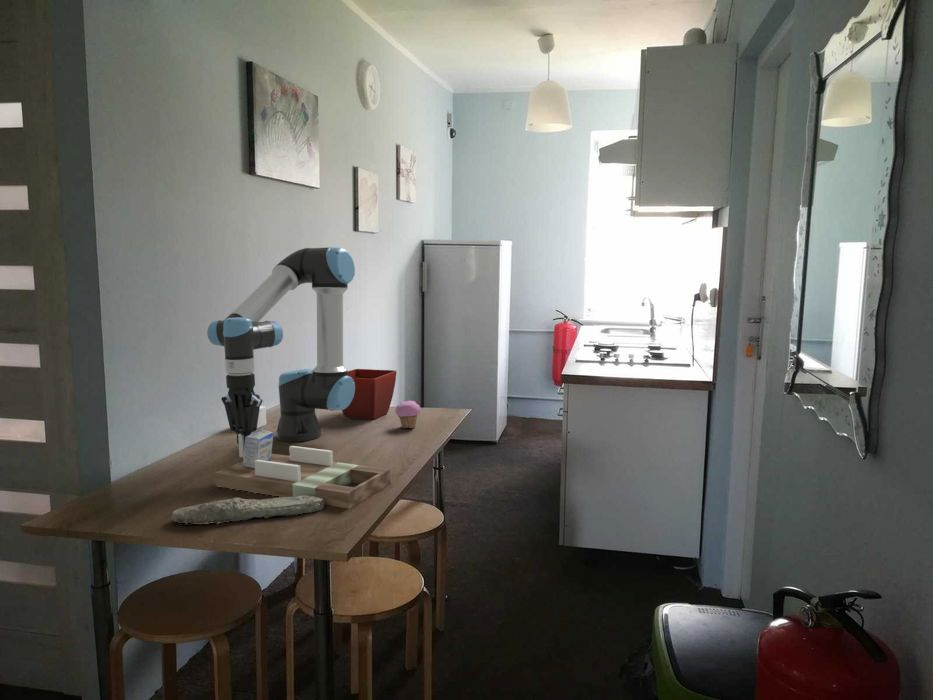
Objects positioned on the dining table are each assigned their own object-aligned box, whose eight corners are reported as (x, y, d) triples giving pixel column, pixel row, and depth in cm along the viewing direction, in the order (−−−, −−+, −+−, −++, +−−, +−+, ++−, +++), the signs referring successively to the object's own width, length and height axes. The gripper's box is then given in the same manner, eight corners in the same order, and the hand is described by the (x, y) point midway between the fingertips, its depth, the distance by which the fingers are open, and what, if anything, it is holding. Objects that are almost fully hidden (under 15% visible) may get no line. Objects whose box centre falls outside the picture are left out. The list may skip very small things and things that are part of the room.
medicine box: (256, 469, 182) (260, 439, 180) (241, 466, 183) (245, 436, 181) (270, 461, 189) (274, 432, 188) (256, 457, 190) (259, 428, 189)
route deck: (265, 465, 198) (265, 452, 198) (390, 483, 181) (390, 469, 180) (215, 486, 180) (214, 472, 180) (349, 508, 163) (348, 493, 162)
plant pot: (331, 419, 256) (329, 376, 253) (357, 408, 273) (355, 368, 271) (375, 423, 249) (373, 378, 246) (399, 412, 266) (397, 370, 264)
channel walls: (292, 459, 191) (291, 445, 190) (333, 464, 185) (332, 450, 185) (255, 475, 177) (254, 460, 176) (298, 481, 171) (297, 466, 171)
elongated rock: (325, 521, 160) (323, 508, 169) (325, 499, 159) (324, 488, 169) (167, 530, 151) (175, 516, 160) (167, 507, 150) (175, 494, 160)
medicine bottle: (266, 425, 248) (265, 393, 246) (254, 429, 241) (253, 397, 240) (250, 423, 250) (248, 392, 249) (238, 428, 244) (236, 396, 242)
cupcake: (421, 424, 245) (420, 398, 244) (420, 430, 237) (419, 403, 235) (396, 425, 245) (396, 398, 244) (395, 431, 236) (394, 403, 235)
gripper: (212, 374, 184) (217, 456, 187) (248, 376, 178) (253, 462, 181) (232, 370, 191) (236, 450, 194) (267, 372, 185) (272, 454, 188)
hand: (244, 455), depth 188 cm, fingers closed
